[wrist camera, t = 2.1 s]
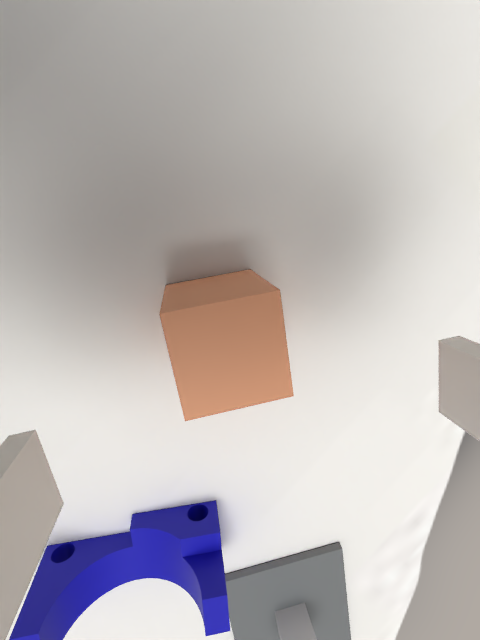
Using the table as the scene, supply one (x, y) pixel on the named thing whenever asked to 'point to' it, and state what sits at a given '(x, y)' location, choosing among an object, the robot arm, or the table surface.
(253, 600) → the stand
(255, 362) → the peach clay cube
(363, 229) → the table surface
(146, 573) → the blue arch bracket
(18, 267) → the table surface
